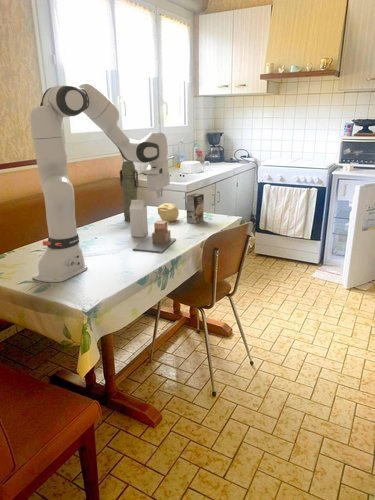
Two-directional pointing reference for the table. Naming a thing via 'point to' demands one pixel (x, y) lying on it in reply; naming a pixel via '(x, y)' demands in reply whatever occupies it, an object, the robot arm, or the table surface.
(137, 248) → the building board
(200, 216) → the coffee box
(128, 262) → the table surface
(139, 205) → the milk carton
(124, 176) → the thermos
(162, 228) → the top block
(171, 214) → the sculpture
